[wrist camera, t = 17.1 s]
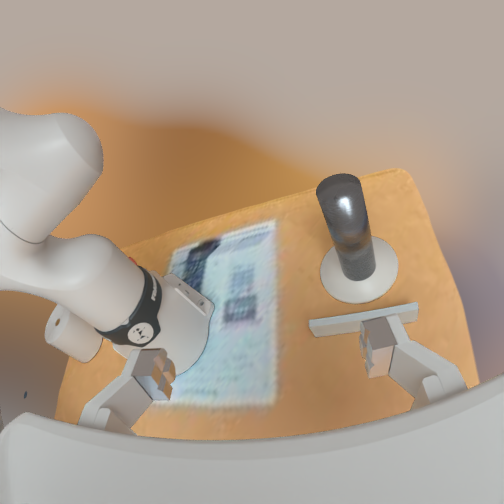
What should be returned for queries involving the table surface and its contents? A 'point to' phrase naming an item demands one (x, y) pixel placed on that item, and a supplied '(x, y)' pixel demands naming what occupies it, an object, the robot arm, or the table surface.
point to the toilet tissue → (72, 335)
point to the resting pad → (366, 288)
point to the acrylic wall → (352, 321)
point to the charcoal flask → (348, 224)
